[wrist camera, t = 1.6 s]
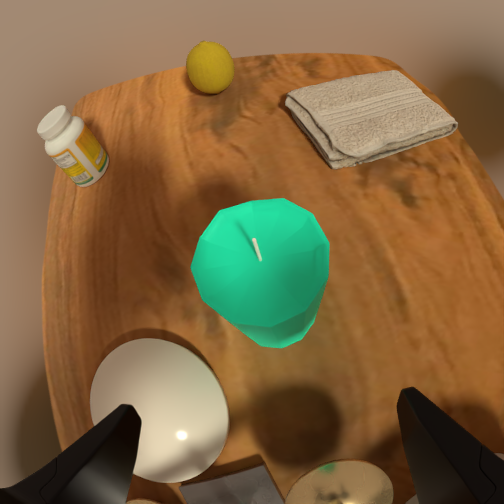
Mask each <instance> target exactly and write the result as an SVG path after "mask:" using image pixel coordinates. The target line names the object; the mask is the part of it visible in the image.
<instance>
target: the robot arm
mask: <svg viewBox="0 0 504 504" xmlns="http://www.w3.org/2000/svg"><path fill="white" fill-rule="evenodd" d="M397 413H398V419H399V424H400V429H401V435H402V441H403V447H404V451H405V454H406V458H407V461H408V465H409V468H410V472H411V475H412V479H413V483H414V487H415V490H416V494H417V498H418V502H419V504H504V460H503V459H501V458H500V457H498V456H497V455H496V454H495V453H493V452H492V451H491V450H489V449H488V448H487V447H486V446H485V445H483V444H482V443H481V442H480V441H478V440H477V439H476V438H475V437H474V436H472V435H471V434H470V433H469V432H468V431H466V430H465V429H464V428H463V427H462V426H460V425H459V424H458V423H457V422H456V421H454V420H453V419H452V418H451V417H450V416H448V415H447V414H446V413H445V412H444V411H442V410H441V409H440V408H439V407H438V406H436V405H435V404H434V403H433V402H432V401H430V400H429V399H428V398H427V397H426V396H424V395H423V394H422V393H421V392H420V391H418V390H417V389H416V388H415V387H408V388H404V389H402V390H401V392H400V396H399V399H398V402H397ZM141 426H142V420H141V417H140V416H139V414H138V413H137V411H136V409H135V408H134V406H133V405H130V404H121V405H119V406H118V407H117V408H116V409H114V410H113V411H112V412H111V413H110V414H108V415H107V416H106V417H105V418H104V419H102V420H101V421H100V422H99V423H98V424H96V425H95V426H94V427H93V428H92V429H90V430H89V431H88V432H87V433H85V434H84V435H83V436H82V437H81V438H79V439H78V440H77V441H76V442H74V443H73V444H72V445H71V446H69V447H68V448H67V449H66V450H64V451H63V452H62V453H61V454H59V455H58V456H57V457H56V458H54V459H53V460H52V461H51V462H49V463H48V464H46V465H45V466H44V467H42V468H41V469H40V470H38V471H37V472H35V473H33V474H32V475H30V476H28V477H27V478H25V479H23V480H22V481H20V482H19V483H17V484H15V485H13V486H11V487H8V488H0V504H126V499H127V495H128V491H129V487H130V483H131V479H132V475H133V471H134V467H135V463H136V459H137V453H138V446H139V439H140V433H141Z"/></svg>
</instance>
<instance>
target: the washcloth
mask: <svg viewBox="0 0 504 504" xmlns="http://www.w3.org/2000/svg"><path fill="white" fill-rule="evenodd" d="M286 97H287V98H286V101H285V106H287V107H288V108H289V109H290V110H291V113H292V117H293V118H294V120H295V121H296V123H297V124H298V125H299V127H300V128H301V129H302V130H303V131H304V132H305V134H307V135H308V137H309V138H310V139H311V141H312V142H313V144H314V145H315V147H316V148H317V150H318V151H319V152H320V154H321V155H322V156H323V157H324V159H325V160H326V162H327V163H328V165H329V166H330V167H331V168H332V169H339V168H342V167H353V166H356V162H357V163H358V164H361V163H362V161H363V162H372V161H374V160H377V159H380V158H383V157H386V156H389V155H392V154H395V153H398V152H400V151H404V150H406V149H409V148H412V147H415V146H418V145H421V144H424V143H426V142H428V141H432V140H434V139H439V138H442V137H445V136H448V135H450V134H452V133H453V132H454V131H455V130H456V128H457V124H458V123H457V122H456V121H455V120H454V118H453V117H451V116H450V115H449V114H448V113H447V112H446V111H445V110H444V109H443V108H441V107H440V106H439V105H438V104H436V103H435V102H433V101H432V100H431V99H430V98H428V97H427V96H426V95H425V94H423V93H422V91H421V90H420V89H419V88H418V87H417V86H416V85H415V84H414V83H413V82H411V81H410V80H409V79H408V78H407V77H405V76H404V75H403V74H401V73H399V72H398V71H394V70H392V71H383V72H378V73H371V74H365V75H356V76H351V77H349V78H342V79H336V80H334V81H330V82H325V83H320V84H317V85H312V86H308V87H303V88H299V89H297V90H296V89H295V90H294V91H293V90H292V91H291V92H290V93H287V95H286ZM370 157H371V158H370Z"/></svg>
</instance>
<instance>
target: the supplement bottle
mask: <svg viewBox="0 0 504 504" xmlns="http://www.w3.org/2000/svg"><path fill="white" fill-rule="evenodd" d="M37 132H38V133H39V135H40V136H41V137H42V139H44V140H46V142H45V150H46V152H47V153H48V155H49V156H50V157H51V158H52V159H53V160H54V161H55V163H56V164H57V165H58V166H59V167H60V168H61V169H62V170H63V171H64V172H65V173H66V174H67V175H68V176H69V178H70V179H71V180H72V181H73V182H74V183H75V184H76V185H78V186H80V187H87V186H90V185H92V184H94V183H95V182H96V181H98V180H99V179H100V178H101V177H102V175H103V174H104V173H105V171H106V169H107V167H108V164H109V157H108V155H107V153H106V152H105V150H104V149H103V148H102V146H101V145H100V144H99V142H98V141H97V139H96V138H95V137H94V135H93V134H92V133H91V131H90V130H89V128H88V127H87V125H86V124H85V123H84V121H83V120H82V119H81V118H79V117H77V116H72V117H71V114H70V112H69V111H68V109H67V108H66V107H65V106H59V107H56V108H55V109H53V110H52V111H50V112H49V113H48V114H47V115H46V116H45V117H44V118H43V119H42V121H41V122H40V124H39V126H38V128H37Z"/></svg>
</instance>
